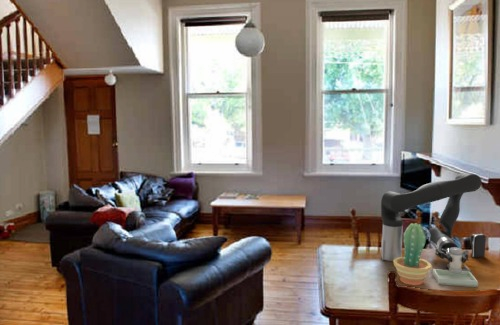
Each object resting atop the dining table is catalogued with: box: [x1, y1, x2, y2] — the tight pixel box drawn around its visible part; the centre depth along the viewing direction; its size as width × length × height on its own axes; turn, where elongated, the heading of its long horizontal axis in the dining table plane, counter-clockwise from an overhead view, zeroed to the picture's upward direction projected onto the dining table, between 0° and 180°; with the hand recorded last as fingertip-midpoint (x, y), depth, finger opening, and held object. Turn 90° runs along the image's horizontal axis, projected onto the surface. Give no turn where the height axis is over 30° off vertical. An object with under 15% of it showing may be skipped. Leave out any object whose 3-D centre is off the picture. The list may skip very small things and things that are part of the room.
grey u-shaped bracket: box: [447, 263, 473, 273], centre depth 185 cm, size 8×9×2 cm
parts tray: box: [432, 268, 479, 288], centre depth 174 cm, size 15×11×2 cm
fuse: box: [448, 247, 463, 274], centre depth 173 cm, size 5×5×10 cm
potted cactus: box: [392, 222, 432, 286], centre depth 173 cm, size 15×15×25 cm
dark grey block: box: [469, 233, 487, 259], centre depth 204 cm, size 7×4×11 cm, turn 107°
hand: (457, 260), depth 171 cm, fingers closed on fuse, 4 cm apart
